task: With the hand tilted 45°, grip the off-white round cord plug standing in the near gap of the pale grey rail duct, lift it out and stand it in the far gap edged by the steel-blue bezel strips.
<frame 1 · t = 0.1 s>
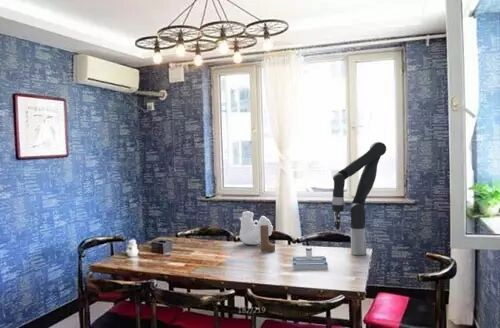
hand: (337, 228, 272), 17 cm above the table, tool pointing down, fingers open, 8 cm apart
wooden block: (268, 251, 288), on the table
duct: (309, 263, 253), on the table
cord plug: (309, 262, 257), on the table
decorative rooster: (256, 244, 309), on the table
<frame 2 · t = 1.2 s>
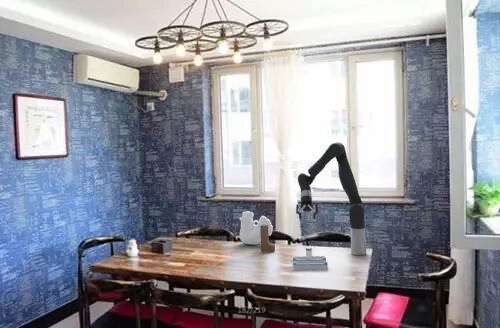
hand: (307, 218, 268), 25 cm above the table, tool tilted 45°, fingers open, 8 cm apart
nothing on the table moved.
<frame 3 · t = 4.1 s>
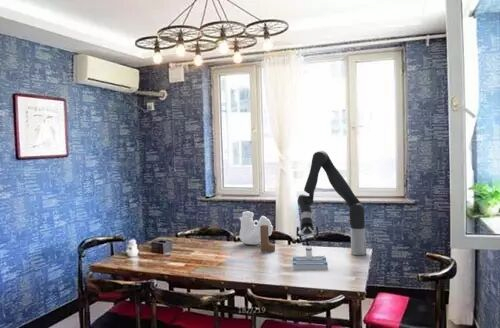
hand: (307, 241, 264), 11 cm above the table, tool tilted 45°, fingers open, 8 cm apart
nothing on the table moved.
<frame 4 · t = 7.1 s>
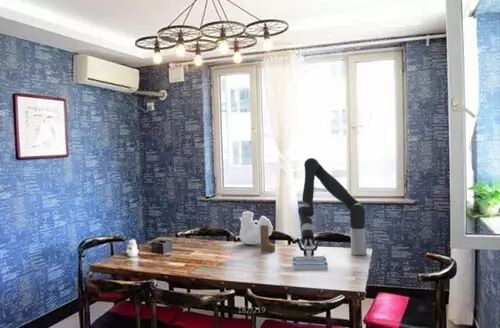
hand: (309, 255, 255), 5 cm above the table, tool tilted 45°, fingers closed on cord plug, 3 cm apart
cord plug: (309, 262, 257), on the table, touching gripper
everything else where it was.
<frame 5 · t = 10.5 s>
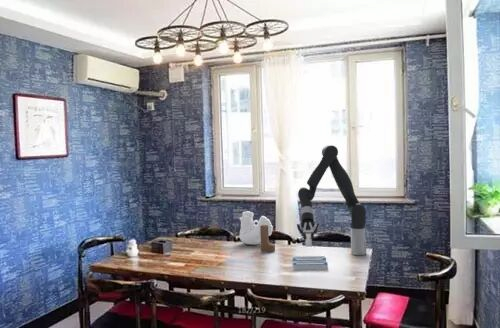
hand: (308, 238, 246), 17 cm above the table, tool tilted 45°, fingers closed on cord plug, 3 cm apart
cord plug: (308, 245, 248), point 12 cm above the table, touching gripper
everything else where it was.
when the fingers open (6 cm above the table, at t = 14.0 s): cord plug drops 1 cm, on the table.
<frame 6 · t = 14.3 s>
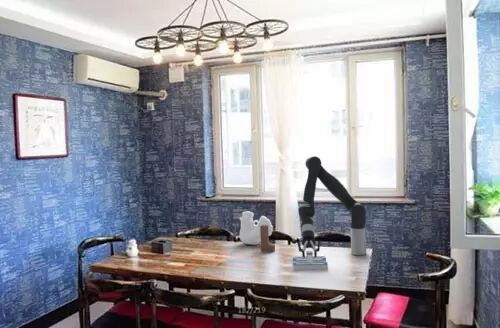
hand: (309, 257, 246), 6 cm above the table, tool tilted 45°, fingers open, 6 cm apart
cord plug: (309, 266, 248), on the table
everything else where it was.
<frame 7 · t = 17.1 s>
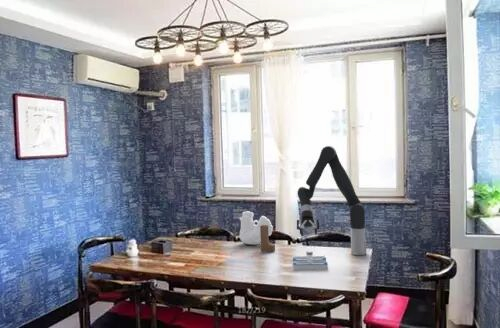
hand: (308, 234, 259), 17 cm above the table, tool tilted 45°, fingers open, 8 cm apart
nothing on the table moved.
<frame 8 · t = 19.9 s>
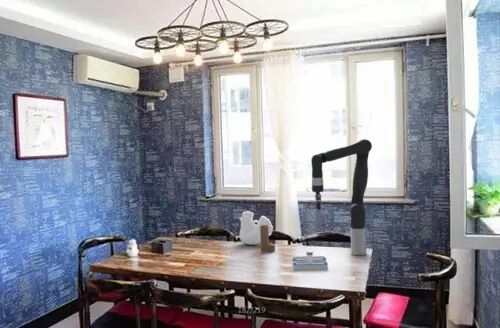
hand: (318, 208, 275), 30 cm above the table, tool pointing down, fingers open, 8 cm apart
nothing on the table moved.
at the end: cord plug inside the target area on the duct (0.1 cm from its centre), point 0.0 cm above the duct's base; cord plug tilted 0°; the gripper is holding nothing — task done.
